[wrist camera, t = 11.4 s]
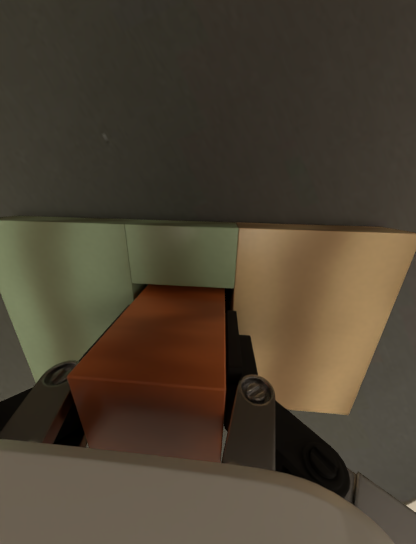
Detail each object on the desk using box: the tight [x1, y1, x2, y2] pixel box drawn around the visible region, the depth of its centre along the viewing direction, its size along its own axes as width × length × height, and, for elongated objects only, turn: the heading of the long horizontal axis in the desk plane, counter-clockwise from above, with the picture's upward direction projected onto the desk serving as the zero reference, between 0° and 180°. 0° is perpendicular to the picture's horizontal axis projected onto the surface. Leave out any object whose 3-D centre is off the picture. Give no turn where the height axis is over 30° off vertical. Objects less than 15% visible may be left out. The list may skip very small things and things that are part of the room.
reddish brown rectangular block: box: [67, 284, 226, 463], centre depth 9 cm, size 5×5×7 cm
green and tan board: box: [0, 216, 416, 415], centre depth 13 cm, size 22×12×2 cm, turn 89°
